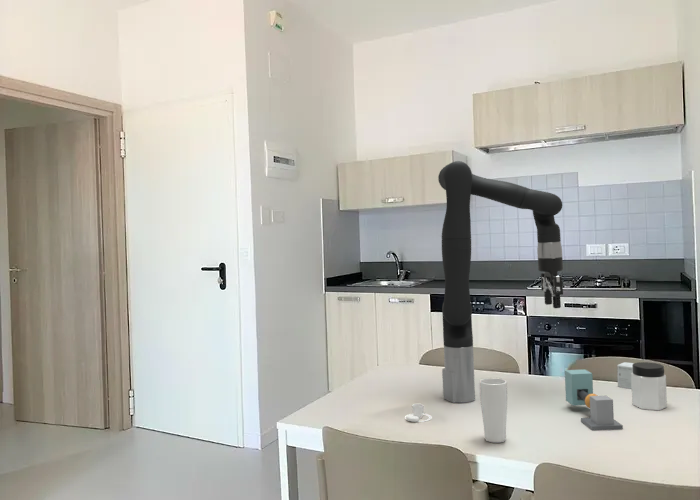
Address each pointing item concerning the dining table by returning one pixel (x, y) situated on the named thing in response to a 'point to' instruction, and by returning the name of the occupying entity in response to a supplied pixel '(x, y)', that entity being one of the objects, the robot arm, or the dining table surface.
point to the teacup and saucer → (417, 414)
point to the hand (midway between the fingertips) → (552, 306)
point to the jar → (648, 386)
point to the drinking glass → (494, 408)
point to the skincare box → (624, 374)
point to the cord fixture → (599, 412)
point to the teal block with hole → (577, 385)
